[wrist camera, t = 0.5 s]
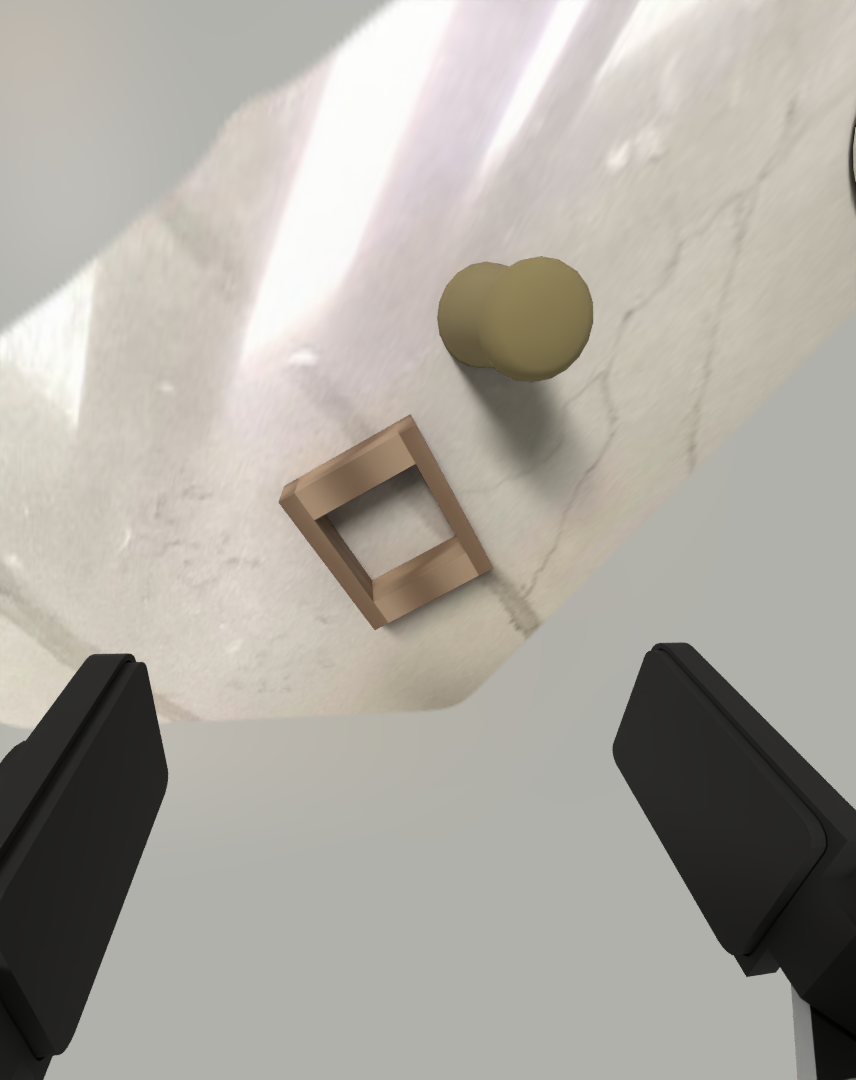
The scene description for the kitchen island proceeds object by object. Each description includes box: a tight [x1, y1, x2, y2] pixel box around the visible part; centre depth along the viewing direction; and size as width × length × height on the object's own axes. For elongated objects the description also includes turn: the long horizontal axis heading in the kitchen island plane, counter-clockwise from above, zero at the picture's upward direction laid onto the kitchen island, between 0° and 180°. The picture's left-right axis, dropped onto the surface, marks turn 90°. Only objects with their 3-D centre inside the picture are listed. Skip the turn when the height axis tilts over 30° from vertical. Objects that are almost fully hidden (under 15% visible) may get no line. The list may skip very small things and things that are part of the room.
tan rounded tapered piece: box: [437, 256, 593, 382], centre depth 25 cm, size 6×6×11 cm
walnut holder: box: [279, 414, 493, 630], centre depth 34 cm, size 10×12×3 cm
